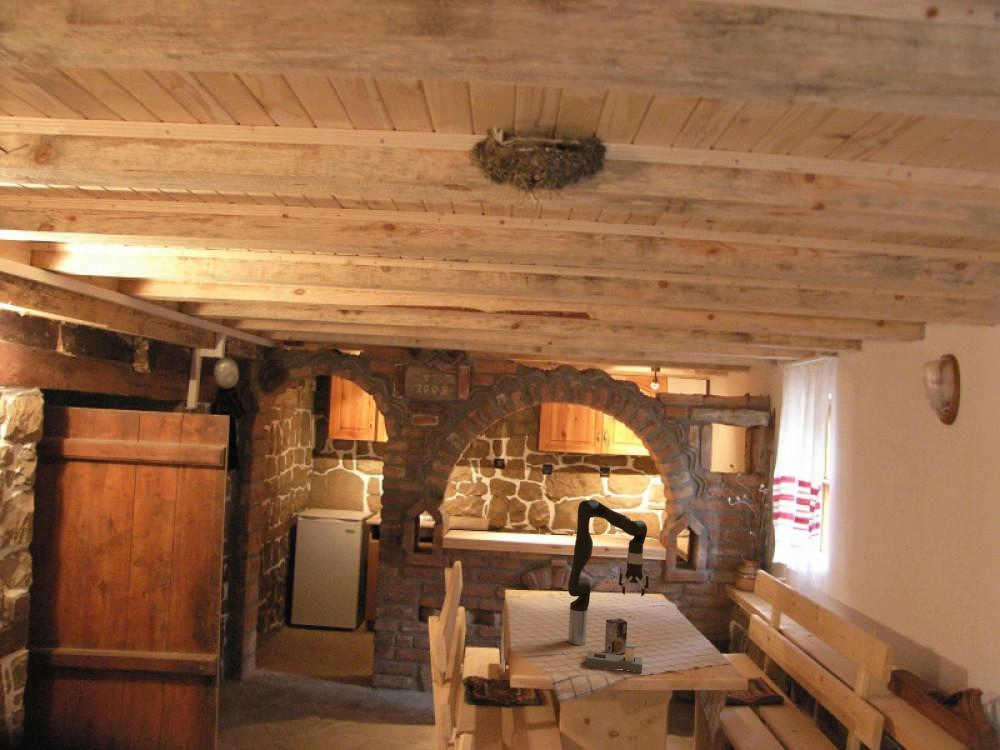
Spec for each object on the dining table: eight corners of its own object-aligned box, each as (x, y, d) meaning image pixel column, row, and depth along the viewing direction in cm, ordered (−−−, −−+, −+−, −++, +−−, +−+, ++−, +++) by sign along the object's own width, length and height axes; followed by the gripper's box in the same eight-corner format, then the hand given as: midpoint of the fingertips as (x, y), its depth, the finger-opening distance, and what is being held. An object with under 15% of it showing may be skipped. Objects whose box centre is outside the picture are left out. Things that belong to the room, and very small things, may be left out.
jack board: (587, 659, 371) (588, 651, 372) (641, 666, 367) (641, 657, 367) (586, 666, 362) (586, 657, 362) (641, 673, 357) (642, 664, 357)
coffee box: (618, 649, 390) (620, 617, 390) (626, 653, 384) (628, 621, 385) (603, 651, 386) (605, 619, 386) (611, 655, 380) (613, 622, 381)
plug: (624, 666, 365) (626, 643, 366) (633, 667, 365) (634, 644, 365) (624, 669, 361) (626, 646, 362) (633, 670, 361) (634, 647, 361)
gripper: (649, 561, 373) (647, 595, 373) (620, 558, 376) (618, 591, 375) (649, 564, 366) (647, 598, 365) (620, 561, 368) (618, 595, 368)
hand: (632, 595), depth 370 cm, fingers open, 8 cm apart
